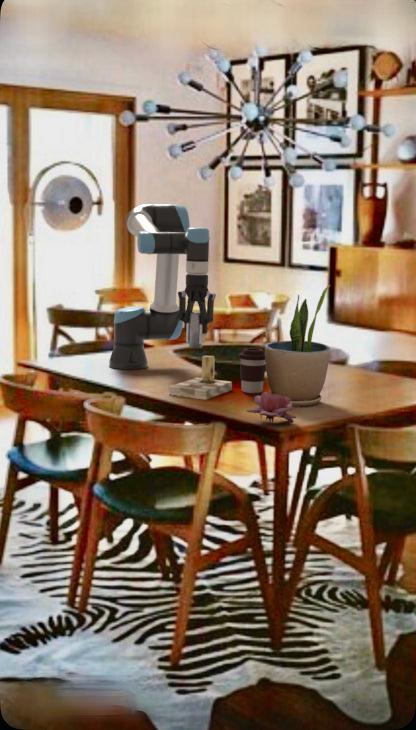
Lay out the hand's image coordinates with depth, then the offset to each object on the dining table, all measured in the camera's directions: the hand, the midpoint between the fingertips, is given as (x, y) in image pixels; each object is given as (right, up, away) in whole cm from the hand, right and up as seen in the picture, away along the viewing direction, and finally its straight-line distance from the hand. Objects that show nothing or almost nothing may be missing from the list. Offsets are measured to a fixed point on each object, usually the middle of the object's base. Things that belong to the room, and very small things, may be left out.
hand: (195, 342), depth 344 cm
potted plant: (+33, -21, -5) cm, 39 cm away
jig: (+2, -17, +8) cm, 19 cm away
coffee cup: (+20, -17, +12) cm, 29 cm away
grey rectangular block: (0, -2, 0) cm, 2 cm away
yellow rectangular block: (+4, -17, +12) cm, 21 cm away
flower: (+24, -26, -37) cm, 51 cm away
